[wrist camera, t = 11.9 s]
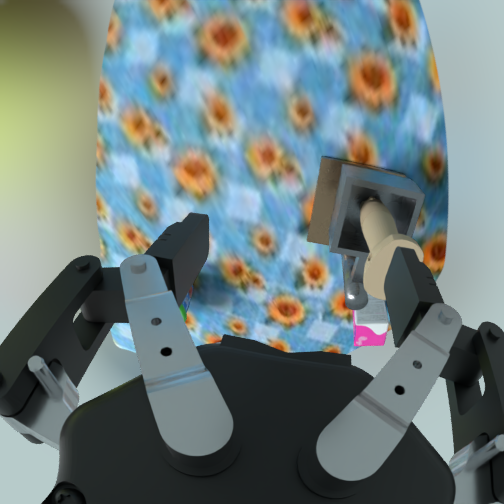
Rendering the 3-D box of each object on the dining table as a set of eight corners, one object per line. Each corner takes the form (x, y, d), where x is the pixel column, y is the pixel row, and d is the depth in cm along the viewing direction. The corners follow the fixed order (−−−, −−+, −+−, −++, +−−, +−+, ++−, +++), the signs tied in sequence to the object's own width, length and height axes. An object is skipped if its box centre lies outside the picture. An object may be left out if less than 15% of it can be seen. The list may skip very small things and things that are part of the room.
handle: (397, 193, 36) (433, 252, 23) (375, 234, 39) (396, 306, 26) (365, 178, 36) (389, 231, 23) (344, 220, 39) (353, 289, 27)
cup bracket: (323, 145, 45) (327, 178, 30) (406, 163, 43) (446, 205, 28) (307, 238, 54) (300, 304, 39) (381, 251, 52) (400, 319, 37)
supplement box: (352, 282, 57) (356, 324, 47) (381, 282, 55) (390, 322, 46) (350, 305, 60) (353, 347, 50) (378, 304, 58) (385, 346, 49)
